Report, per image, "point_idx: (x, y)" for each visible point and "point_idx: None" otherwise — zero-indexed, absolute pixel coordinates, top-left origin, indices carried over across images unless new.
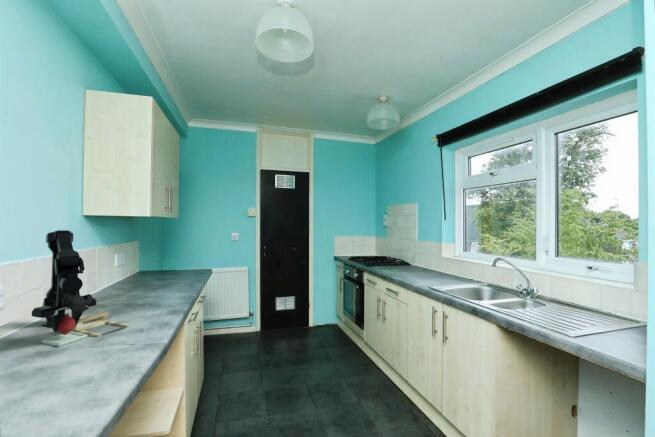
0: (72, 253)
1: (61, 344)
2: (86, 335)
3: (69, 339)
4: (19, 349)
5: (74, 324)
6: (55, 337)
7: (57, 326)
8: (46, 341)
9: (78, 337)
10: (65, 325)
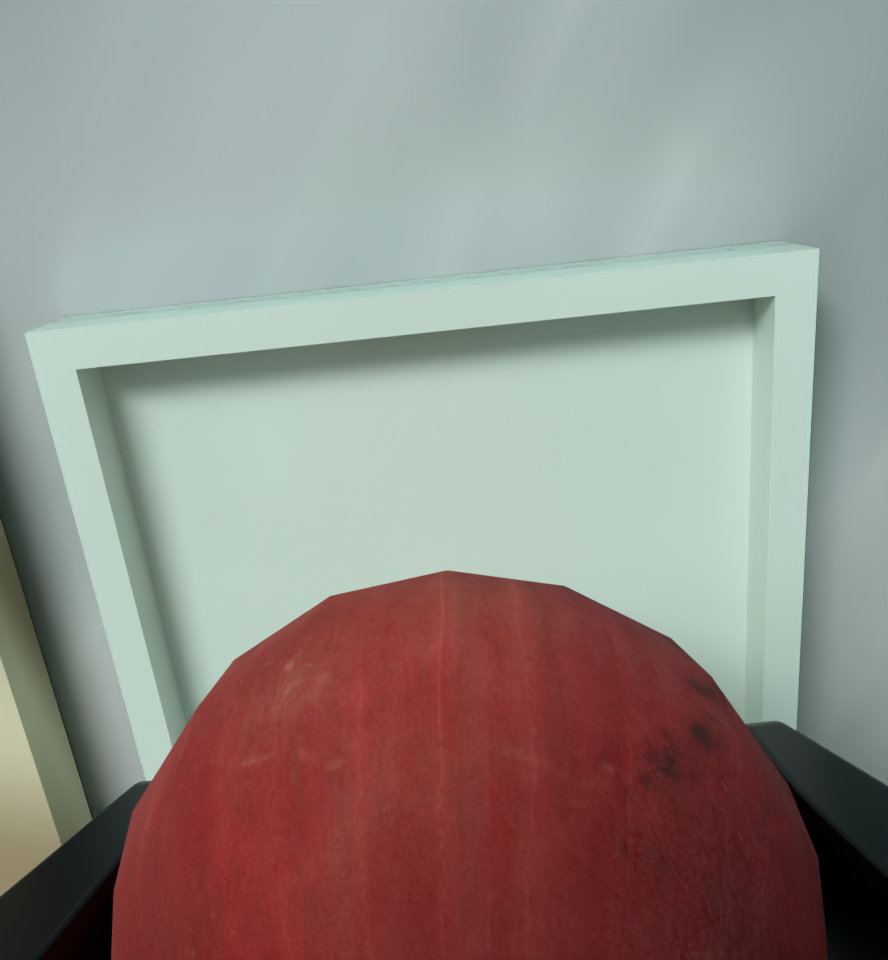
0: None
1: (744, 248)
2: (54, 330)
3: (423, 482)
4: None
5: (248, 690)
6: None
7: (879, 846)
8: (790, 719)
9: (285, 303)
10: (653, 709)
